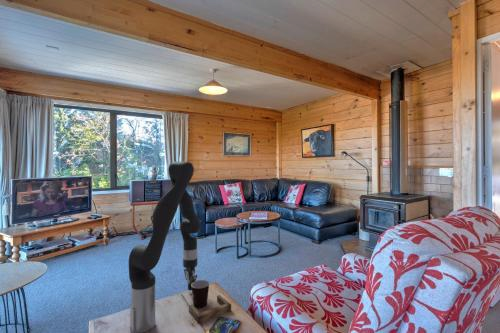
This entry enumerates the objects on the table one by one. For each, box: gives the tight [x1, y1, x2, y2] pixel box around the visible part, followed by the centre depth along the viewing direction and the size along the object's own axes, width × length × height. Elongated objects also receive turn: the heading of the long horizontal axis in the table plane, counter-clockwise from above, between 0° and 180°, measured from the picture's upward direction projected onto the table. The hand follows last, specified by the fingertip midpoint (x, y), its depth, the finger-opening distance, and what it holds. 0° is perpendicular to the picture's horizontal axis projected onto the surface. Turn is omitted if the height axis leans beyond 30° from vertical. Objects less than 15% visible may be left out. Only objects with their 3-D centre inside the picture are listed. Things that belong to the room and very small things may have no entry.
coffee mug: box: [191, 279, 210, 310], centre depth 121 cm, size 12×9×10 cm
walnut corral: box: [188, 294, 232, 324], centre depth 114 cm, size 16×11×3 cm
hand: (190, 289), depth 132 cm, fingers closed
